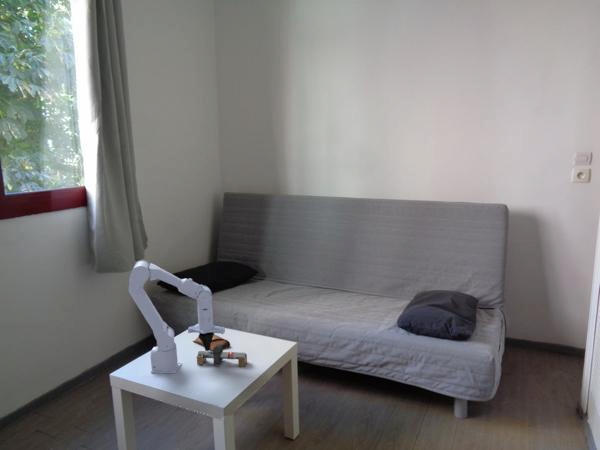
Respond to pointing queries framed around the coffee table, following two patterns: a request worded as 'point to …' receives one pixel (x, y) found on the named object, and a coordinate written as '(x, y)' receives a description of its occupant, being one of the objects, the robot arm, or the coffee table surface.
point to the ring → (217, 354)
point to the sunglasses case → (215, 342)
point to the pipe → (222, 357)
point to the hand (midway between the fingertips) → (207, 349)
